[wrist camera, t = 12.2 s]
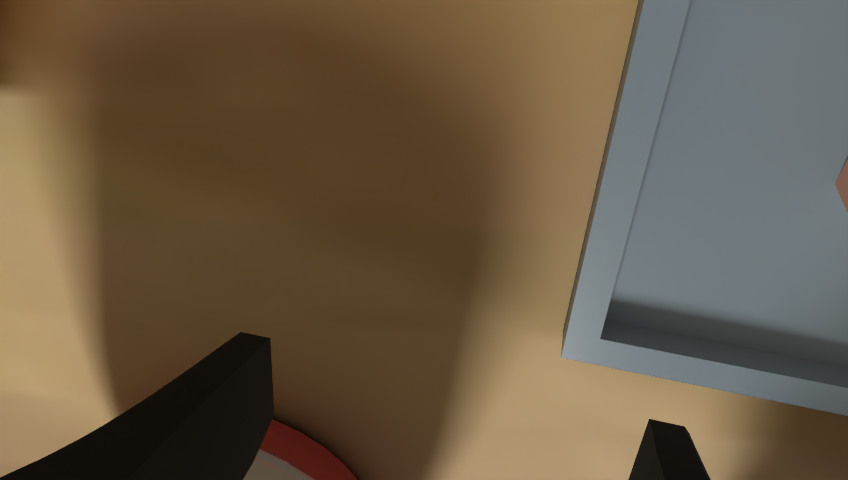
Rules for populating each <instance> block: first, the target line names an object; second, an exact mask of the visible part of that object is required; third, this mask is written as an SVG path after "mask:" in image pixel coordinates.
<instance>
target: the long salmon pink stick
mask: <svg viewBox="0 0 848 480" xmlns="http://www.w3.org/2000/svg"><path fill="white" fill-rule="evenodd" d="M835 186H836V188H837V190H838V193H839V195H840V197H841V199H842V202H843V204H844V206H845V209H846V211H847V213H848V159H847V161H846V163H845V165H844V167H843V169H842V171H841V173H840V175H839V177H838V179H837V181H836V183H835Z"/></svg>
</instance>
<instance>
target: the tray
mask: <svg viewBox="0 0 848 480" xmlns="http://www.w3.org/2000/svg"><path fill="white" fill-rule="evenodd" d="M847 159H848V0H639V1H638V6H637V10H636V15H635V19H634V23H633V28H632V32H631V36H630V41H629V45H628V49H627V54H626V58H625V63H624V67H623V71H622V76H621V80H620V84H619V89H618V93H617V98H616V102H615V106H614V111H613V115H612V119H611V124H610V128H609V132H608V137H607V141H606V146H605V150H604V154H603V159H602V163H601V167H600V172H599V176H598V180H597V185H596V189H595V194H594V198H593V202H592V207H591V211H590V215H589V220H588V224H587V229H586V233H585V237H584V242H583V246H582V250H581V255H580V259H579V263H578V268H577V272H576V277H575V281H574V285H573V290H572V294H571V298H570V303H569V307H568V311H567V316H566V320H565V325H564V330H563V341H562V352H561V358H566V359H571V360H576V361H580V362H585V363H590V364H595V365H600V366H605V367H610V368H615V369H620V370H625V371H630V372H634V373H639V374H644V375H649V376H654V377H659V378H664V379H669V380H674V381H679V382H683V383H688V384H693V385H698V386H703V387H708V388H713V389H718V390H723V391H728V392H733V393H737V394H742V395H747V396H752V397H757V398H762V399H767V400H772V401H777V402H782V403H787V404H791V405H796V406H801V407H806V408H811V409H816V410H821V411H826V412H831V413H836V414H840V415H845V416H848V213H847V211H846V209H845V206H844V204H843V202H842V199H841V197H840V195H839V193H838V190H837V188H836V186H835V183H836V181H837V179H838V177H839V175H840V173H841V171H842V169H843V167H844V165H845V163H846V161H847Z"/></svg>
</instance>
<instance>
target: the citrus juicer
mask: <svg viewBox="0 0 848 480" xmlns="http://www.w3.org/2000/svg"><path fill="white" fill-rule="evenodd" d="M243 480H357V479H356V478H355V476H354V475H353V474H352V473H351V472H350V471H349V469H348V468H347V467H346V466H345V465H344V464H343V463H342V462H341V461H340V460H339V459H338V458H337V457H335V456H334V455H332V454H331V453H330V452H329V451H328V450H327V449H326V448H324V447H323V446H321V445H320V444H318V443H316V442H315V441H313V440H312V439H310V438H309V437H307V436H306V435H304V434H303V433H301V432H299V431H297V430H295V429H293V428H290V427H288V426H286V425H284V424H282V423H280V422H278V421H276V420H273V419H272V421H271V423H270V426H269V428H268V430H267V433H266V435H265V437H264V440H263V442H262V444H261V446H260V449H259V451H258V453H257V455H256V457H255V460H254V462H253V464H252V465H251V467H250V469H249V470H248V472H247V474H246V476H245V477H244V479H243Z"/></svg>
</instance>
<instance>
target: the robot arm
mask: <svg viewBox="0 0 848 480" xmlns="http://www.w3.org/2000/svg"><path fill="white" fill-rule="evenodd" d="M273 416H274V403H273V384H272V365H271V345H270V338H266V337H262V336H257V335H252V334H247V333H243V332H240V333H239V334H238V335H236V336H235V337H233V338H232V339H230V340H229V341H227V342H226V343H225V344H223V345H222V346H220V347H219V348H218V349H216V350H215V351H213V352H212V353H211V354H209V355H208V356H206V357H205V358H204V359H202V360H201V361H200V362H198V363H197V364H195V365H194V366H193V367H191V368H190V369H188V370H187V371H186V372H184V373H183V374H181V375H180V376H178V377H177V378H176V379H174V380H173V381H171V382H170V383H168V384H167V385H165V386H164V387H162V388H161V389H160V390H158V391H157V392H155V393H154V394H152V395H151V396H149V397H148V398H146V399H145V400H143V401H142V402H140V403H139V404H137V405H135V406H134V407H132V408H131V409H129V410H127V411H126V412H124V413H123V414H121V415H119V416H118V417H116V418H115V419H113V420H111V421H110V422H108V423H107V424H105V425H103V426H102V427H100V428H98V429H96V430H95V431H93V432H91V433H89V434H88V435H86V436H84V437H82V438H81V439H79V440H77V441H75V442H73V443H71V444H69V445H67V446H65V447H63V448H62V449H60V450H58V451H56V452H54V453H52V454H50V455H48V456H46V457H44V458H42V459H40V460H38V461H36V462H33V463H31V464H29V465H27V466H25V467H22V468H20V469H18V470H16V471H14V472H11V473H9V474H7V475H5V476H3V477H0V480H243V479H244V477H245V476H246V474H247V472H248V470H249V469H250V467H251V465H252V464H253V462H254V460H255V457H256V455H257V453H258V451H259V449H260V446H261V444H262V442H263V440H264V437H265V435H266V433H267V430H268V428H269V426H270V423H271V421H272V418H273ZM629 480H710V478H709V476H708V473H707V471H706V469H705V467H704V465H703V463H702V461H701V459H700V456H699V454H698V452H697V450H696V448H695V445H694V443H693V441H692V439H691V436H690V434H689V432H688V431H687V429H686V428H685V427H684V426H679V425H675V424H670V423H665V422H660V421H656V420H651V419H649V421H648V424H647V427H646V430H645V433H644V436H643V439H642V442H641V445H640V448H639V451H638V454H637V456H636V459H635V462H634V465H633V468H632V471H631V474H630V477H629Z"/></svg>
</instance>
